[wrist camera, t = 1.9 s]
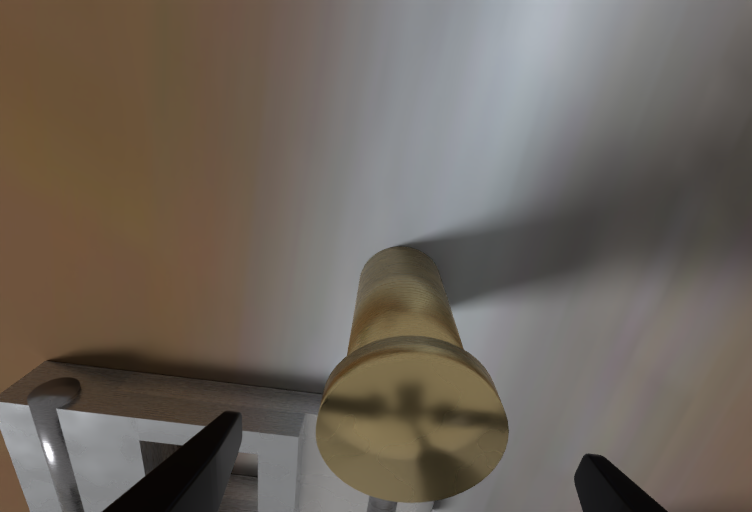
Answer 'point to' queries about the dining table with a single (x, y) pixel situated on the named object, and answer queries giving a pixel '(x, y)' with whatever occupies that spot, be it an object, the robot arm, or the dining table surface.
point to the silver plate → (164, 440)
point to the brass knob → (408, 391)
